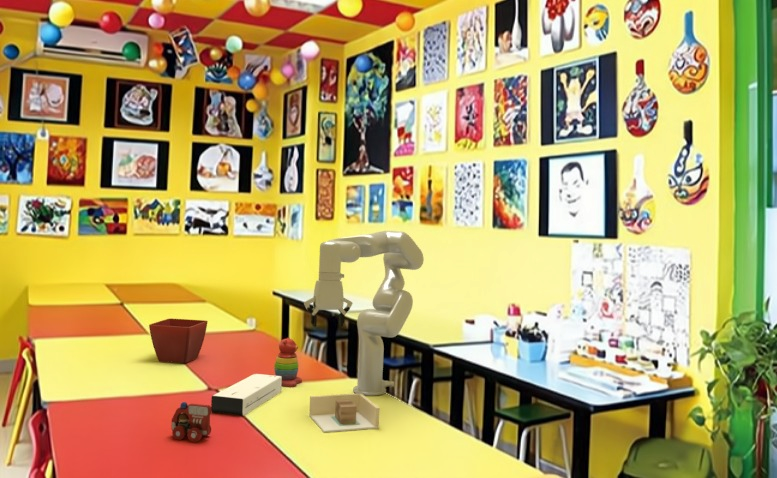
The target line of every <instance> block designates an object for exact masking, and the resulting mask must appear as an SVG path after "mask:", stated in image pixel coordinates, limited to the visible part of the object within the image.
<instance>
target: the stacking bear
mask: <svg viewBox="0 0 777 478" xmlns="http://www.w3.org/2000/svg"><path fill="white" fill-rule="evenodd" d="M298 348H299V345H298V344H297V343H296V342H295V341H294V339H292V338H290V337H286V338H283V339H281V340H280V341H279V344H278V350H279V353H278V354H277V355H276V358H275V362H274V367H273V368H274V374H275V376H282V387H287V388H296V387H297V384H301V383H303V379H302V378H301V377H299V376H298V372H299V362H298V361H299V359H298V356H297V353H296V352H297V351H298Z"/></svg>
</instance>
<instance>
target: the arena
mask: <svg viewBox="0 0 777 478" xmlns="http://www.w3.org/2000/svg"><path fill="white" fill-rule="evenodd" d="M336 400H351V401H352V402H353V403H354V404H355V405H356V423H355V424H340V423H339V422H338V420H337V419H336V418H335V403H336ZM309 418H311V419H312V421H313V422H314V423H315V424H316V426H318V428H319V429H320V430H321V431H322V433H324V434H325V433H338V432H348V431H349V432H351V431H363V430H365V431H366V430H374V429H375V430H376V429H378V430H379V425H380V407H379V406H378V405H377V404H375V403H374V402H373V401H372V400H370V399H369V397H367V396H366V395H363V394H362V393H343V394H327V395H325V394H324V395H310V396H309Z"/></svg>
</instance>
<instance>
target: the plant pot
mask: <svg viewBox="0 0 777 478" xmlns="http://www.w3.org/2000/svg"><path fill="white" fill-rule="evenodd" d="M207 327H208V320H203V319H185V318H166V319H162V320H159V321H156V322H154V323H149V325H148V328H149V335H150V338H151V342H152V346H153V349H154V353H155V355H156V358H157V360H158V362H160V363H173V364H187V363H189V362H191V361H193V360H195V359H198V358H199V355H200V352H201V349H202V347H203V343H204V340H205V337H206V332H207Z"/></svg>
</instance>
